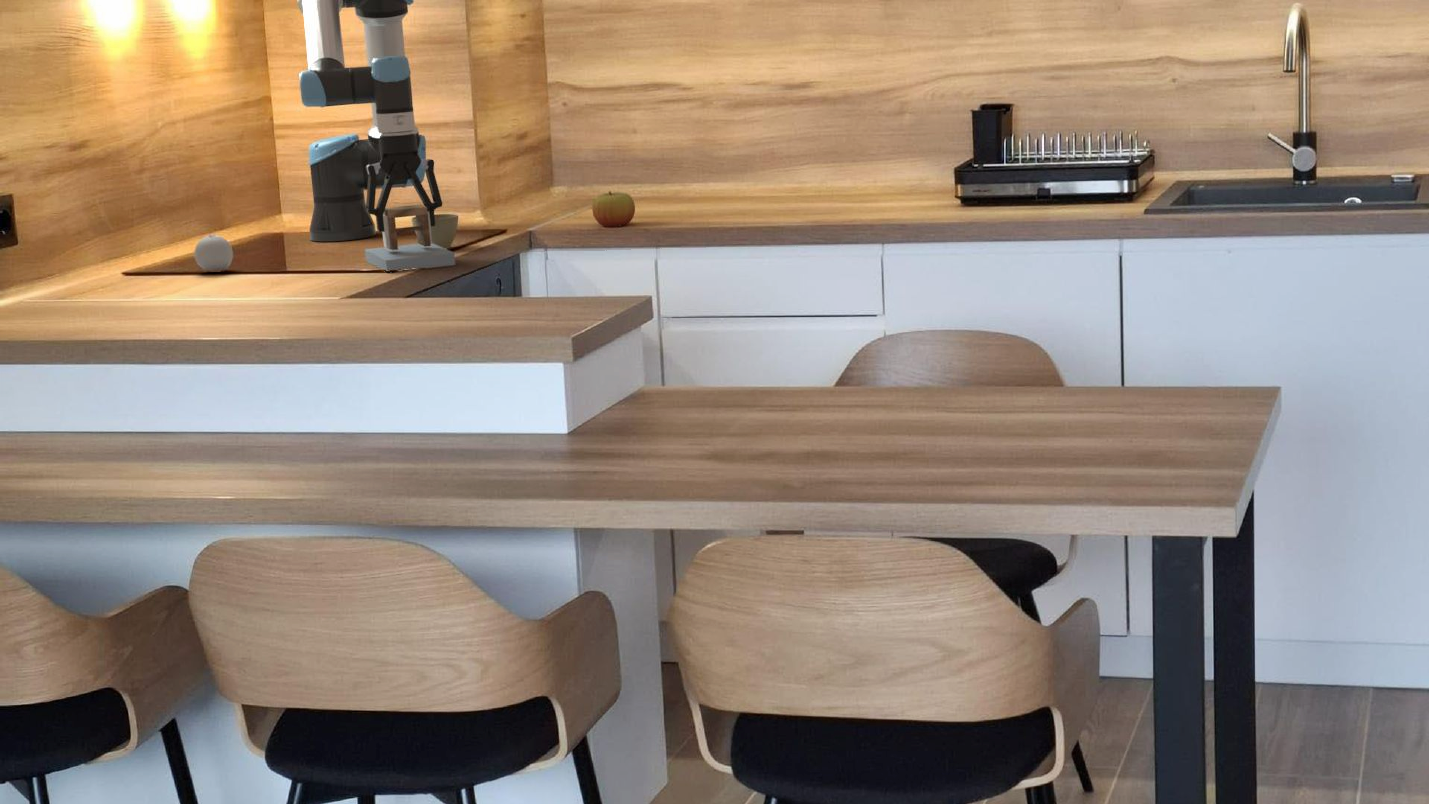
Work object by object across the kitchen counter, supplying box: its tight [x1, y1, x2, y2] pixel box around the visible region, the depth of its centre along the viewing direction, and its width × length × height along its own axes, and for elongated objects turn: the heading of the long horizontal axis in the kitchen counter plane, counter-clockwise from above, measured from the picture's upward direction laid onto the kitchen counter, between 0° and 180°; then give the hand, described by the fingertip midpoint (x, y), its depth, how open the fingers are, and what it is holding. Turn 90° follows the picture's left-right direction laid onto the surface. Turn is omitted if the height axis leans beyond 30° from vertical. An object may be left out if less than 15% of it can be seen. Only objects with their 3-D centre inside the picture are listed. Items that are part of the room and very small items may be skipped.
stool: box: [383, 204, 431, 250], centre depth 357 cm, size 8×6×8 cm
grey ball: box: [193, 233, 234, 271], centre depth 362 cm, size 8×8×8 cm
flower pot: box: [411, 213, 459, 249], centre depth 376 cm, size 10×10×7 cm
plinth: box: [364, 243, 456, 271], centre depth 359 cm, size 20×14×2 cm
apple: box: [591, 190, 636, 228], centre depth 398 cm, size 10×10×8 cm
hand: (408, 244), depth 358 cm, fingers closed on stool, 8 cm apart
